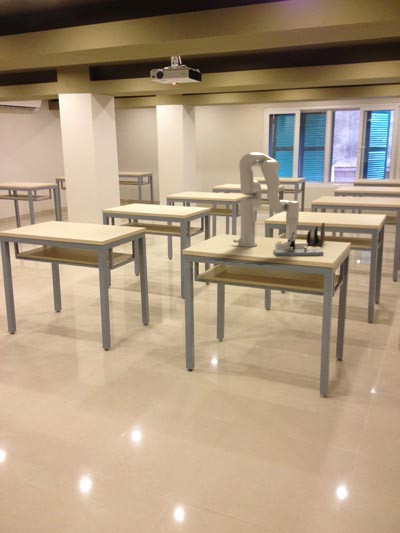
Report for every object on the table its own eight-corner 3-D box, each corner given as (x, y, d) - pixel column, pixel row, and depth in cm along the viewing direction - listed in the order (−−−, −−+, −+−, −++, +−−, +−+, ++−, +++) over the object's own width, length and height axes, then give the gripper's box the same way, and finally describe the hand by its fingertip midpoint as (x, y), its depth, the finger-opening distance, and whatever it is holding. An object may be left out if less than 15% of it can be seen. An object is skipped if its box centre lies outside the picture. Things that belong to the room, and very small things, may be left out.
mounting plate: (276, 256, 291) (277, 249, 290) (273, 252, 301) (274, 245, 300) (323, 255, 292) (323, 248, 291) (318, 252, 302) (319, 245, 301)
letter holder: (324, 241, 337) (325, 221, 334) (321, 246, 319) (322, 225, 316) (309, 240, 340) (310, 220, 337) (306, 246, 322) (307, 224, 319)
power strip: (276, 251, 304) (277, 242, 302) (275, 249, 310) (275, 241, 308) (307, 251, 304) (307, 242, 303) (304, 249, 310) (305, 240, 309)
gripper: (283, 219, 311) (282, 247, 315) (289, 223, 294) (288, 252, 298) (295, 219, 311) (293, 246, 315) (301, 223, 294) (300, 252, 298)
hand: (291, 249), depth 307 cm, fingers closed on power strip, 6 cm apart
